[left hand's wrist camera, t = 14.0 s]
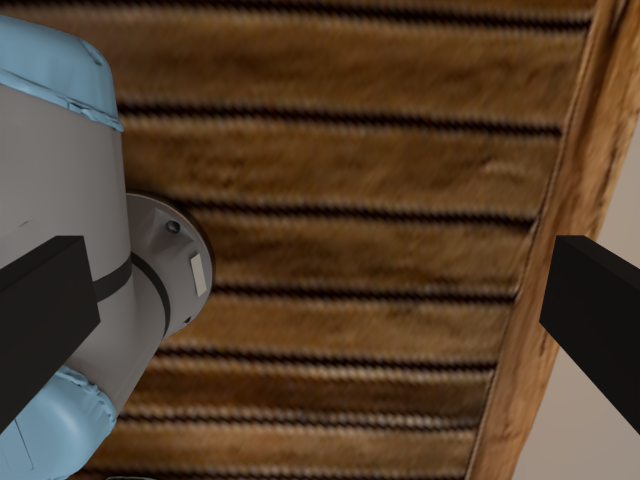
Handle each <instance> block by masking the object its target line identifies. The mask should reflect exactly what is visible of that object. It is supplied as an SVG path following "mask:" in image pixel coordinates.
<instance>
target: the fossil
mask: <svg viewBox="0 0 640 480" xmlns="http://www.w3.org/2000/svg"><path fill="white" fill-rule="evenodd" d="M106 480H155V479H151V478H144V477H122V476H120V477H109V478H107V479H106Z"/></svg>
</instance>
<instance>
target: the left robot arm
mask: <svg viewBox="0 0 640 480" xmlns="http://www.w3.org/2000/svg"><path fill="white" fill-rule="evenodd" d="M121 132H123V125H122V123H121V122H120V121H119V117H118V112H117V106H116V99H115V92H114V85H113V78H112V73H111V69H110V66H109V64H108V62H107V61H106V59H105V58H104V56H103V55H102V54H101V53H100V51H99V50H97V49H96V48H95V47H94V46H92V45H91V44H90V43H88V42H87V41H85V40H83V39H81V38H79V37H76V36H74V35H71V34H68V33H65V32H62V31H59V30H56V29H52V28H49V27H46V26H43V25H39V24H35V23H31V22H27V21H24V20H20V19H16V18H12V17H9V16H5V15H1V14H0V480H65V479H66V478H68V476H69V475H71V474H73V473H74V472H77V471H78V470H79V469H80V468H82V466H83V465H84V464H85V463H86V462H87V461H88V460H89V459H90V457H91V456H92V455H93V453H94V452H95V451H96V449H97V448H98V447H99V445H100V444H101V443H102V442H103V440H104V439H105V438H106V437H107V436H108V435H109V434H110V433H111V431H112V429H113V428H114V426H115V423H116V421H117V420H116V418H117V416H118V415H119V413H120V411H121V410H122V408H123V406H124V405H125V403H126V401H127V399H128V398H129V396H130V394H131V393H132V391H133V389H134V387H135V386H136V384H137V382H138V381H139V379H140V377H141V376H142V374H143V372H144V370H145V369H146V367H147V365H148V364H149V362H150V360H151V359H152V357H153V355H154V353H155V352H156V350H157V348H158V347H159V345H160V343H161V342H162V341H163V340H164V339H166V338H168V337H169V336H171V335H172V334H173V333H175V332H177V331H179V330H180V329H182V328H183V327H185V326H186V325H188V324H189V323H190V322H191V321H193V320H194V319H195V318H196V317H197V316H198V314H199V313H200V312H201V310H202V309H203V307H204V305H205V304H206V302H207V300H208V298H209V296H210V294H211V291H212V289H213V285H214V281H215V273H216V265H215V257H214V253H213V249H212V246H211V244H210V241H209V239H208V237H207V235H206V234H205V232H204V230H203V229H202V227H201V226H200V225H199V223H198V222H197V221H196V220H195V219H194V218H193V217H192V216H191V215H190V214H189V213H188V212H187V211H186V210H184V209H183V208H182V207H180V206H179V205H177V204H176V203H174V202H173V201H171V200H169V199H167V198H165V197H162V196H160V195H157V194H154V193H151V192H147V191H142V190H132V189H125V179H124V166H123V154H122V141H121ZM539 323H540V324H541V325H542V326H543V327H544V328H545V329H546V330H547V331H548V333H549V334H550V335H551V336H552V337H553V338H554V339H555V340H556V342H557V343H558V344H559V345H560V346H561V347H562V348H563V349H564V351H565V352H566V353H567V354H568V355H569V356H570V357H571V358H572V359H573V361H574V362H575V363H576V364H577V365H578V366H579V367H580V369H581V370H582V371H583V372H584V373H585V374H586V375H587V376H588V378H589V379H590V380H591V381H592V382H593V383H594V384H595V385H596V386H597V388H598V389H599V390H600V391H601V392H602V393H603V394H604V396H605V397H606V398H607V399H608V400H609V401H610V402H611V403H612V405H613V406H614V407H615V408H616V409H617V410H618V411H619V412H620V413H621V415H622V416H623V417H624V418H625V419H626V420H627V421H628V422H629V424H630V425H631V426H632V427H633V428H634V429H635V430H636V431H637V432H638V434H639V435H640V269H639V268H637V267H635V266H634V265H632V264H630V263H629V262H627V261H625V260H624V259H622V258H621V257H619V256H617V255H616V254H614V253H612V252H611V251H609V250H607V249H606V248H604V247H602V246H601V245H599V244H597V243H596V242H594V241H592V240H591V239H589V238H587V237H586V236H584V235H556V240H555V245H554V250H553V255H552V260H551V265H550V270H549V275H548V280H547V285H546V290H545V295H544V300H543V305H542V310H541V315H540V320H539Z"/></svg>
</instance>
